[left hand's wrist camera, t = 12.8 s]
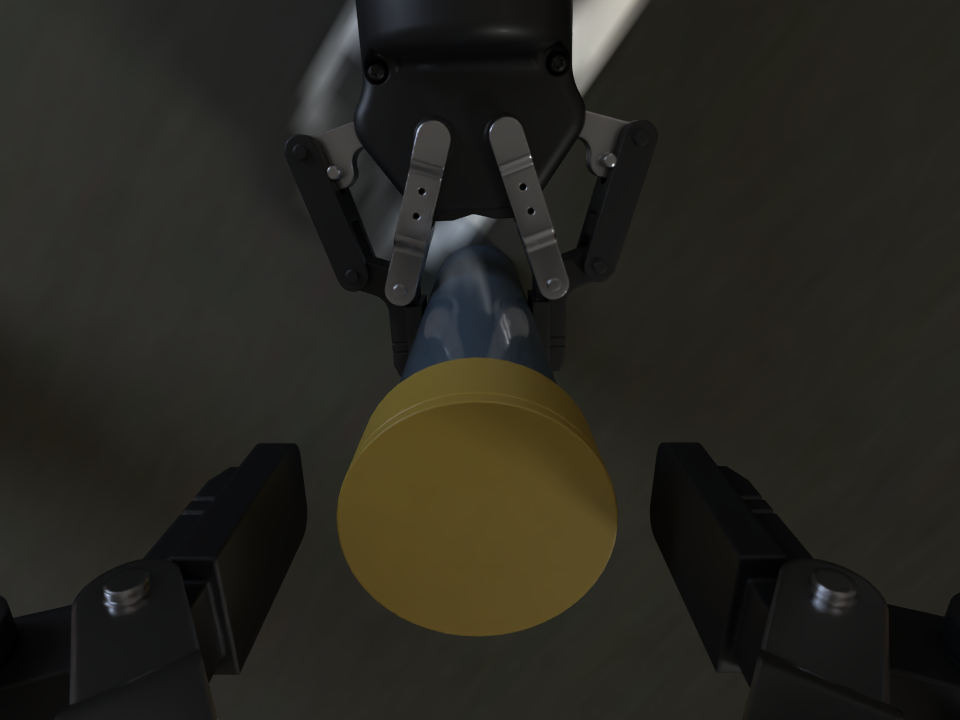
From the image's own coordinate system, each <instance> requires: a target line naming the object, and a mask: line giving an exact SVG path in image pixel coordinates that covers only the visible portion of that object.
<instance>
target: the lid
mask: <svg viewBox="0 0 960 720" xmlns="http://www.w3.org/2000/svg"><path fill="white" fill-rule="evenodd" d="M617 528H618V508H617V501H616V495H615V492H614V488H613V485H612V482H611V479H610V477H609V474H608V472H607V470H606V467H605V465H604V462H603V460H602V457H601V455H600V453H599V450H598V448H597V445H596V443H595V441H594V438H593V436H592V433H591V431H590V428H589V426H588V424H587V422H586V420H585V418H584V416H583V414H582V412H581V411H580V409H579V408H578V407H577V405H576V404H575V402H574V401H573V400H572V399H571V398H570V397H569V395H568V394H567V393H566V392H565V391H564V390H563V389H561V388H560V387H559V386H558V385H557V384H555V383H554V382H553V381H552V380H550V379H548V378H547V377H545V376H544V375H542V374H540V373H539V372H536V371H534V370H532V369H530V368H528V367H525V366H523V365H519V364H516V363H513V362H510V361H505V360H499V359H493V358H463V359H456V360H451V361H446V362H442V363H439V364H436V365H433V366H430V367H427V368H425V369H423V370H421V371H419V372H417V373H415V374H413V375H411V376H410V377H408V378H407V379H405V380H404V381H402V382H401V383H399V384H398V385H397V386H396V387H395V388H394V389H393V390H391V391H390V392H389V393H388V394H387V395H386V397H385V398H384V399H383V400H382V401H381V402H380V404H379V405H378V406H377V408H376V410H375V411H374V413H373V414H372V416H371V418H370V420H369V422H368V424H367V427H366V429H365V431H364V434H363V436H362V438H361V441H360V443H359V446H358V448H357V450H356V453H355V455H354V457H353V460H352V462H351V465H350V467H349V469H348V472H347V474H346V477H345V479H344V481H343V484H342V487H341V491H340V495H339V498H338V506H337V531H338V536H339V541H340V545H341V548H342V551H343V554H344V556H345V559H346V561H347V563H348V565H349V567H350V569H351V571H352V572H353V574H354V576H355V577H356V578H357V580H358V581H359V582H360V584H361V585H362V586H363V587H364V589H365V590H366V591H367V592H368V593H369V594H370V595H371V596H372V597H373V598H374V599H375V600H377V601H378V602H379V603H380V604H382V605H383V606H384V607H385V608H387V609H388V610H390V611H391V612H393V613H395V614H396V615H398V616H399V617H401V618H403V619H406V620H408V621H410V622H412V623H414V624H416V625H419V626H422V627H425V628H427V629H431V630H435V631H439V632H443V633H448V634H455V635H462V636H491V635H500V634H506V633H512V632H516V631H520V630H523V629H527V628H530V627H533V626H535V625H538V624H540V623H543V622H545V621H547V620H549V619H551V618H553V617H555V616H557V615H559V614H560V613H562V612H563V611H565V610H566V609H568V608H569V607H571V606H572V605H573V604H574V603H576V602H577V601H578V600H579V599H580V598H581V597H582V596H584V595H585V594H586V592H587V591H588V590H589V589H590V588H591V587H592V586H593V585H594V584H595V582H596V581H597V579H598V578H599V576H600V575H601V573H602V572H603V570H604V568H605V566H606V564H607V562H608V560H609V558H610V556H611V553H612V550H613V547H614V544H615V540H616V534H617Z"/></svg>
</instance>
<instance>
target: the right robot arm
mask: <svg viewBox="0 0 960 720" xmlns="http://www.w3.org/2000/svg"><path fill="white" fill-rule="evenodd" d="M356 10H357V20H358V29H359V39H360V49H361V59H362V69H363V87H362V93H361V97H360V100H359V102H358V105H357V107H356V110H355V113H354V121H353V122H350V123H348V124H345V125H342V126H340V127H337V128H334V129H332V130H329V131H326V132H323V133H321V134H318V135H315V136H308V135H299V134H298V135H294V136H292V137H290V138H289V139H288V140H287V142H286V144H285V148H284V152H285V157H286V159H287V162H288V164H289V166H290V169H291V171H292V173H293V176H294V178H295V180H296V183H297V185H298V187H299V190H300V192H301V195H302V197H303V199H304V202H305V204H306V206H307V209H308V211H309V213H310V216H311V218H312V220H313V223H314V225H315V227H316V230H317V232H318V234H319V237H320V239H321V241H322V244H323V246H324V249H325V251H326V253H327V256H328V258H329V260H330V263H331V265H332V267H333V270H334V272H335V274H336V277H337V279H338V281H339V283H340V285H341V286H342V287H343V288H344V289H346V290H348V291H353V292H355V291H359V290H360V291H363V292H367V293H370V294H373V295H376V296H378V297H380V298H381V299H382V300H383V301H384V302H385V303H386V305H387V306H388V309H389V316H390V326H391V336H392V346H393V356H394V366H395V367H396V369H397V371H398V373H399V375H400V376H402V373H403V371H404V368H405V365H406V362H407V359H408V356H409V354H410V351H411V348H412V345H413V342H414V340H415V337H416V334H417V331H418V328H419V326H420V323H421V320H422V317H423V314H424V311H425V309H426V306H427V296H426V294H421V286H420V283H421V280H422V275H423V271H424V267H425V263H426V259H427V255H428V251H429V247H430V243H431V240H432V236H433V232H434V228H435V224H436V221H452V220H456V219H459V218H462V217H465V216H468V215H471V214H477V215H481V216H485V217H490V218H494V219H498V218H513V219H514V222H515V225H516V228H517V231H518V234H519V236H520V239H521V242H522V245H523V248H524V251H525V254H526V257H527V259H528V262H529V265H530V268H531V271H532V274H533V290H528V304H529V307H530V309H531V312H532V315H533V318H534V321H535V324H536V327H537V329H538V332H539V335H540V338H541V341H542V344H543V347H544V349H545V352H546V355H547V358H548V361H549V364H550V367H551V370H552V371H558V370H561V367H562V365H563V363H564V360H565V317H566V300H567V298H568V296H569V294H570V293H571V292H572V291H573V290H574V289H575V288H577V287H579V286H582V285H584V284H587V283H589V282H592V281H595V282H603V281H606V280H607V279H609V278H610V277H611V276H612V275H613V273H614V271H615V268H616V265H617V262H618V259H619V256H620V253H621V249H622V246H623V243H624V240H625V237H626V234H627V231H628V228H629V225H630V222H631V219H632V216H633V213H634V210H635V207H636V204H637V200H638V197H639V194H640V191H641V188H642V185H643V182H644V179H645V176H646V173H647V170H648V167H649V164H650V161H651V158H652V155H653V152H654V148H655V145H656V142H657V130H656V128H655V126H654V125H653V124H652V123H651V122H649V121H647V120H635V121H630V122H626V121H622V120H618V119H615V118H611V117H607V116H604V115H600V114H596V113H592V112H589V111H586V109H585V104H584V101H583V99H582V97H581V95H580V93H579V91H578V89H577V86H576V84H575V80H574V76H573V71H572V20H573V0H356ZM577 139H579V140H581V141H582V142H583V143H584V145H585V147H586V150H587V157H586V166H587V168H588V170H589V172H590V173H592V174H593V175H595V176H598V177H597V181H596V184H595V187H594V191H593V194H592V197H591V201H590V204H589V207H588V211H587V214H586V217H585V221H584V224H583V227H582V231H581V234H580V238H579V241H578V244H577V248H576V249H573V250H571V251H568V252H566V253H563V254H560V250H559V247H558V244H557V241H556V236H555V231H554V228H553V224H552V221H551V218H550V215H549V212H548V209H547V205H546V202H545V199H544V196H543V193H542V191H543V189H544V188H545V186H546V185H547V183H548V182H549V180H550V179H551V177H552V176H553V174H554V173H555V171H556V170H557V168H558V167H559V165H560V164H561V162H562V161H563V159H564V158H565V156H566V155H567V153H568V152H569V150H570V149H571V147H572V146H573V144H574V143H575V141H576V140H577ZM364 148H365V150H366V151H367V152H368V153H369V155H370V156H371V157H372V158H373V160H374V161H375V162H376V163H377V165H378V166H379V167H380V168H381V170H382V171H383V172H384V173H385V175H386V176H387V177H388V178H389V179H390V181H391V182H392V183H393V184H394V186H395V187H396V188H397V189H398V191H399V192H400V193H401V194H402V196H403V200H402V205H401V209H400V214H399V219H398V223H397V228H396V232H395V237H394V248H393V253H392V257H391V261H387V260H384V259H381V258H378V257H376V255H375V253H374V250H373V248H372V245H371V243H370V240H369V238H368V235H367V233H366V230H365V228H364V225H363V223H362V220H361V218H360V215H359V213H358V210H357V207H356V205H355V202H354V200H353V197H352V195H351V192H350V190H349V187H350V186H352V185H354V184H355V182H356V181H357V179H358V167H357V158H358V155H359V153H360V152H361V151H362V150H363V149H364Z"/></svg>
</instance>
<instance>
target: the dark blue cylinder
mask: <svg viewBox="0 0 960 720" xmlns="http://www.w3.org/2000/svg"><path fill="white" fill-rule="evenodd" d="M463 358H493V359H499V360H505V361H510V362H513V363H516V364H519V365H523V366H525V367H528V368H530V369H532V370H534V371H536V372H539V373H540V374H542V375H544V376H545V377H547V378H548V379H550V380H552V381H553V382H554V383H555V384H556V381H555V378H554V375H553V372H552V370H551V367H550V364H549V361H548V358H547V355H546V352H545V349H544V347H543V344H542V341H541V338H540V335H539V332H538V329H537V327H536V324H535V321H534V318H533V315H532V312H531V309H530V307H529V304H528V301H527V298H526V295H525V292H524V289H523V287H522V284H521V281H520V278H519V275H518V272H517V270H516V268H515V266H514V264H513V263H512V261H511V260H510V259H509V258H508V257H507V256H506V255H505V254H504V253H502V252H501V251H499V250H497V249H495V248H492V247H489V246H484V245H471V246H467V247H464V248H461V249H459V250H457V251H455V252H454V253H452V254H451V255H450V256H449V257H448V258H447V259H446V260H445V261H444V263H443V264H442V266H441V268H440V270H439V272H438V275H437V278H436V280H435V283H434V286H433V289H432V292H431V295H430V297H429V300H428V303H427V306H426V309H425V311H424V314H423V317H422V320H421V323H420V326H419V328H418V331H417V334H416V337H415V340H414V342H413V345H412V348H411V351H410V354H409V356H408V359H407V362H406V365H405V368H404V371H403V373H402V376H401V379H400V382H399V383H401V382H402V381H404V380H405V379H407V378H408V377H410V376H411V375H413V374H415V373H417V372H419V371H421V370H423V369H425V368H427V367H430V366H433V365H436V364H439V363H442V362H446V361H451V360H456V359H463Z"/></svg>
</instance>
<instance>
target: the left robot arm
mask: <svg viewBox="0 0 960 720" xmlns="http://www.w3.org/2000/svg"><path fill="white" fill-rule="evenodd" d="M650 521H651V527H652V532H653V535H654V538H655V540H656V542H657V544H658V546H659V549H660V551H661V553H662V555H663V557H664V559H665V562H666V564H667V566H668V568H669V570H670V572H671V575H672V577H673V579H674V581H675V583H676V585H677V588H678V590H679V592H680V594H681V596H682V598H683V601H684V603H685V605H686V607H687V609H688V612H689V614H690V616H691V618H692V620H693V622H694V625H695V627H696V629H697V631H698V633H699V635H700V638H701V640H702V642H703V644H704V646H705V648H706V651H707V653H708V655H709V657H710V659H711V662H712V664H713V666H714V668H715V670H716V672H717V673H743V675H744V677H745V679H746V681H747V683H748V685H749V687H750V691H749V695H748V699H747V703H746V707H745V711H744V716H743V720H960V593H958V594H956V595H954V596H953V598H952V599H951V601H950V603H949V606H948V609H947V611H946V614H945V617H943V616H938V615H934V614H929V613H925V612H920V611H916V610H911V609H907V608H902V607H898V606H893V605H889V604H887V603H886V600H885V598H884V597H883V596H882V594H881V593H880V592H879V591H878V589H877V588H876V587H875V586H874V585H872V584H871V583H870V582H869V581H868V580H866V579H865V578H863V577H862V576H860V575H859V574H857V573H855V572H853V571H852V570H849V569H847V568H845V567H843V566H840V565H838V564H835V563H832V562H828V561H825V560H820V559H813V557H812V556H811V555H810V554H809V553H808V551H807V550H806V549H805V548H804V547H803V545H802V544H801V543H800V542H799V541H798V539H797V538H796V537H795V536H794V535H793V533H792V532H791V531H790V530H789V529H788V527H787V526H786V525H785V524H784V523H783V521H782V520H781V519H780V518H779V517H778V515H777V514H774V513H773V509H772V508H771V507H770V506H769V505H768V503H767V502H766V501H765V500H762V496H761V495H760V494H759V493H758V491H757V490H756V489H755V488H754V487H753V485H752V484H751V483H750V482H749V481H748V480H747V479H746V478H744V477H742V476H741V475H739V474H738V473H736V472H735V471H733V470H732V469H730V468H728V467H727V466H717V465H716V463H715V462H714V461H713V460H712V458H711V457H710V456H709V454H708V453H707V452H706V450H705V449H704V448H703V447H702V445H701V444H699V443H661V444H660V445H659V447H658V451H657V456H656V464H655V472H654V480H653V488H652V496H651V503H650ZM306 523H307V503H306V495H305V487H304V479H303V472H302V464H301V456H300V451H299V448H298V446H297V445H296V444H295V443H259V444H257V445H256V446H255V447H254V448H253V450H252V451H251V452H250V454H249V455H248V456H247V457H246V459H245V460H244V461H243V463H242V464H241V465H240V466H239V467H230V468H228V469H227V470H225V471H224V472H222V473H220V474H219V475H217V476H216V477H214V478H213V479H211V480H209V481H208V482H207V483H206V485H205V486H204V487H203V488H202V489H201V491H200V492H199V493H198V494H197V495H196V496H195V500H194V501H191V502H190V504H189V505H188V506H187V507H186V508H185V510H184V511H183V515H179V517H178V518H177V519H176V520H175V521H174V523H173V524H172V525H171V526H170V527H169V529H168V530H167V531H166V532H165V533H164V535H163V536H162V537H161V538H160V539H159V540H158V542H157V543H156V544H155V545H154V546H153V548H152V549H151V550H150V551H149V552H148V554H147V555H146V556H145V557H144V558H143V559H140V560H135V561H132V562H128V563H125V564H122V565H120V566H117V567H115V568H113V569H111V570H108V571H107V572H105V573H103V574H101V575H100V576H98V577H97V578H95V579H94V580H92V581H91V582H90V583H89V584H88V585H86V586H85V587H84V588H83V589H82V591H81V592H80V593H79V594H78V596H77V597H76V598H75V600H74V603H73V605H69V606H65V607H61V608H56V609H52V610H47V611H43V612H38V613H34V614H29V615H25V616H20V617H16V618H13V616H12V614H11V611H10V608H9V606H8V603H7V601H6V600H5V599H4V597H2V596H0V720H217V716H216V711H215V707H214V703H213V699H212V695H211V691H210V687H209V682H210V680H211V678H212V676H213V675H239V674H240V672H241V670H242V668H243V666H244V663H245V661H246V659H247V657H248V655H249V653H250V651H251V648H252V646H253V644H254V642H255V640H256V638H257V636H258V633H259V631H260V629H261V627H262V625H263V623H264V621H265V618H266V616H267V614H268V612H269V610H270V608H271V605H272V603H273V601H274V599H275V597H276V595H277V593H278V590H279V588H280V586H281V584H282V582H283V580H284V578H285V575H286V573H287V571H288V569H289V567H290V565H291V563H292V560H293V558H294V556H295V554H296V552H297V550H298V548H299V545H300V543H301V541H302V539H303V537H304V533H305V529H306Z"/></svg>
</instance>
